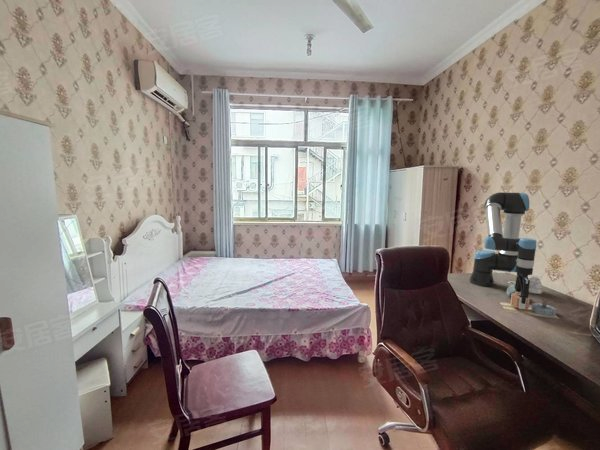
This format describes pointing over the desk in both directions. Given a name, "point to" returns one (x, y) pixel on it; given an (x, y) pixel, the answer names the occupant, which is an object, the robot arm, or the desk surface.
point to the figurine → (535, 285)
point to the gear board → (528, 311)
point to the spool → (510, 290)
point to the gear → (543, 309)
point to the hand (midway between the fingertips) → (519, 305)
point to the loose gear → (518, 300)
